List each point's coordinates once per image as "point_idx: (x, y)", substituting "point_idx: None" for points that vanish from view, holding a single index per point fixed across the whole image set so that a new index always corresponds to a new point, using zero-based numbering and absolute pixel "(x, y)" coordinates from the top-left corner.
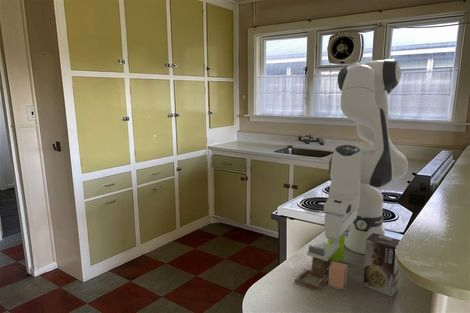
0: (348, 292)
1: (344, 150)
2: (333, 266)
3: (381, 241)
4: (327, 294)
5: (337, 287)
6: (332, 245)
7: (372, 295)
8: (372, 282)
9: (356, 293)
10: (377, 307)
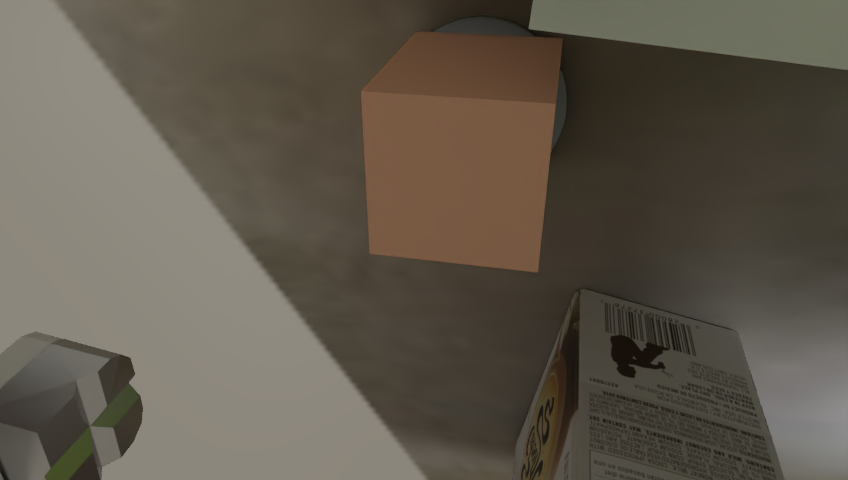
0: None
1: None
2: (410, 133)
3: None
4: (290, 52)
5: None
6: (4, 354)
7: (472, 347)
8: (548, 386)
9: None
10: (351, 369)
